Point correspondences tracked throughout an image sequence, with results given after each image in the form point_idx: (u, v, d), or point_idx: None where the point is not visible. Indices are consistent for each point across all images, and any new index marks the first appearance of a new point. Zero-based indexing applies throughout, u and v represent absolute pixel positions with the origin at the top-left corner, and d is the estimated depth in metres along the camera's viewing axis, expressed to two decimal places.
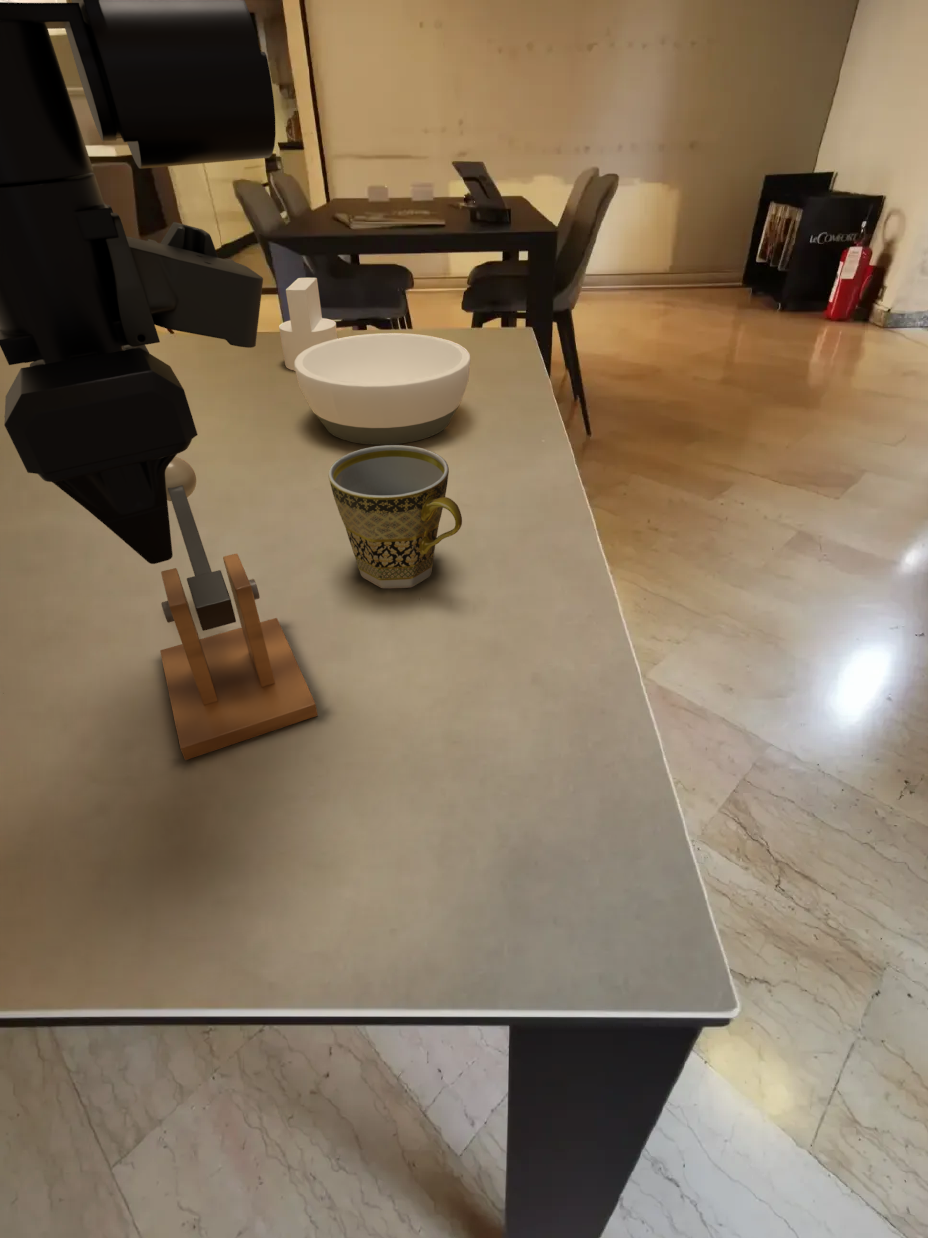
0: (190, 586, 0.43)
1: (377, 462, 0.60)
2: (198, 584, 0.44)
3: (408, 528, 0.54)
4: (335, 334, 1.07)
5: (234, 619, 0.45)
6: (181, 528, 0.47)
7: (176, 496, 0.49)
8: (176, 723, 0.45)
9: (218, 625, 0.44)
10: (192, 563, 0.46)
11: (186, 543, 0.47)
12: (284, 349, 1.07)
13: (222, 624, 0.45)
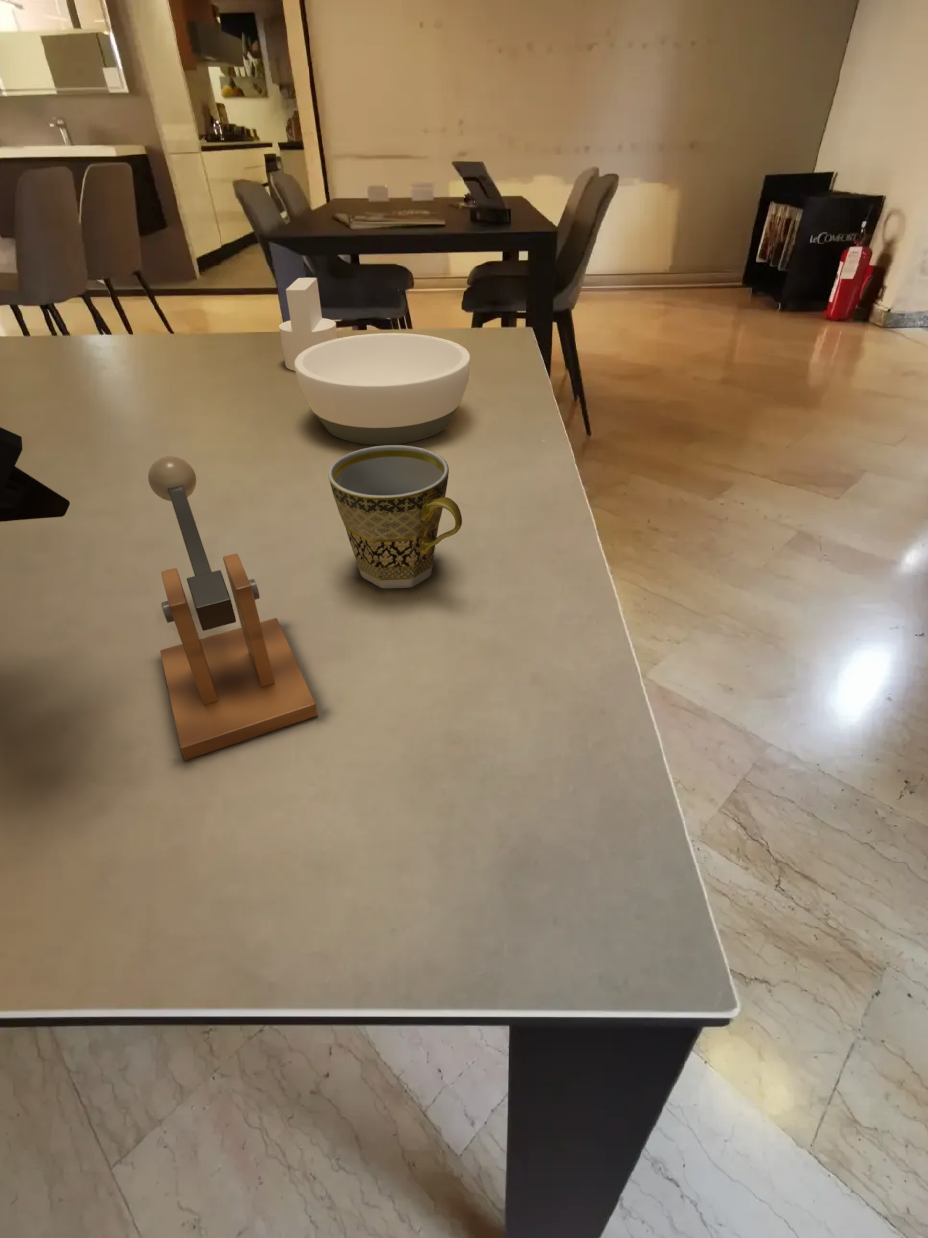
0: (190, 586, 0.43)
1: (377, 462, 0.60)
2: (198, 584, 0.44)
3: (408, 528, 0.54)
4: (335, 334, 1.07)
5: (234, 619, 0.45)
6: (181, 528, 0.47)
7: (176, 496, 0.49)
8: (176, 723, 0.45)
9: (218, 625, 0.44)
10: (192, 563, 0.46)
11: (186, 543, 0.47)
12: (284, 349, 1.07)
13: (222, 624, 0.45)
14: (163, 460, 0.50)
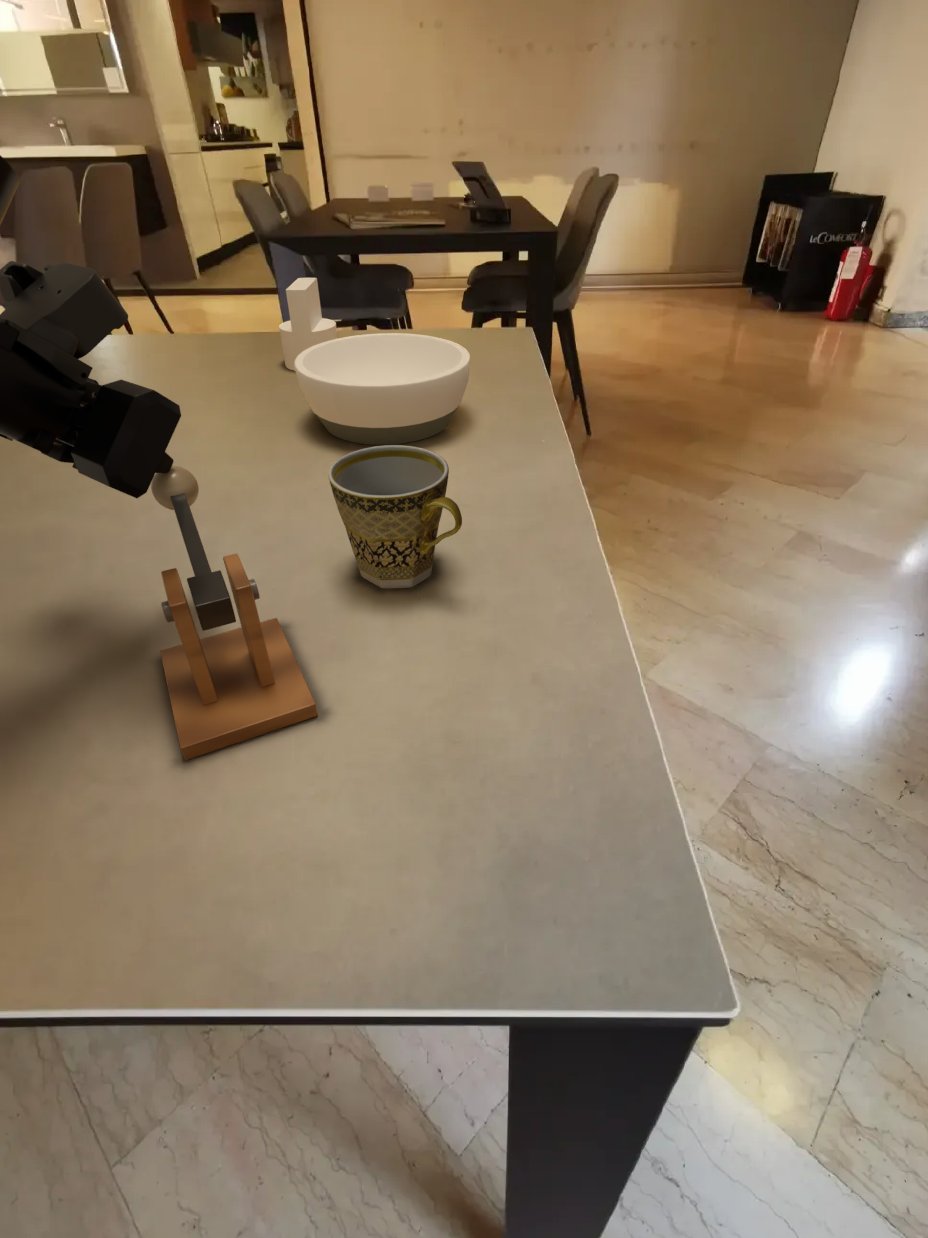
0: (190, 586, 0.44)
1: (377, 462, 0.60)
2: (198, 583, 0.44)
3: (408, 528, 0.54)
4: (335, 334, 1.07)
5: (234, 619, 0.45)
6: (182, 533, 0.48)
7: (178, 503, 0.50)
8: (176, 723, 0.45)
9: (218, 625, 0.44)
10: (193, 565, 0.46)
11: (187, 546, 0.47)
12: (284, 349, 1.07)
13: (222, 624, 0.44)
14: None
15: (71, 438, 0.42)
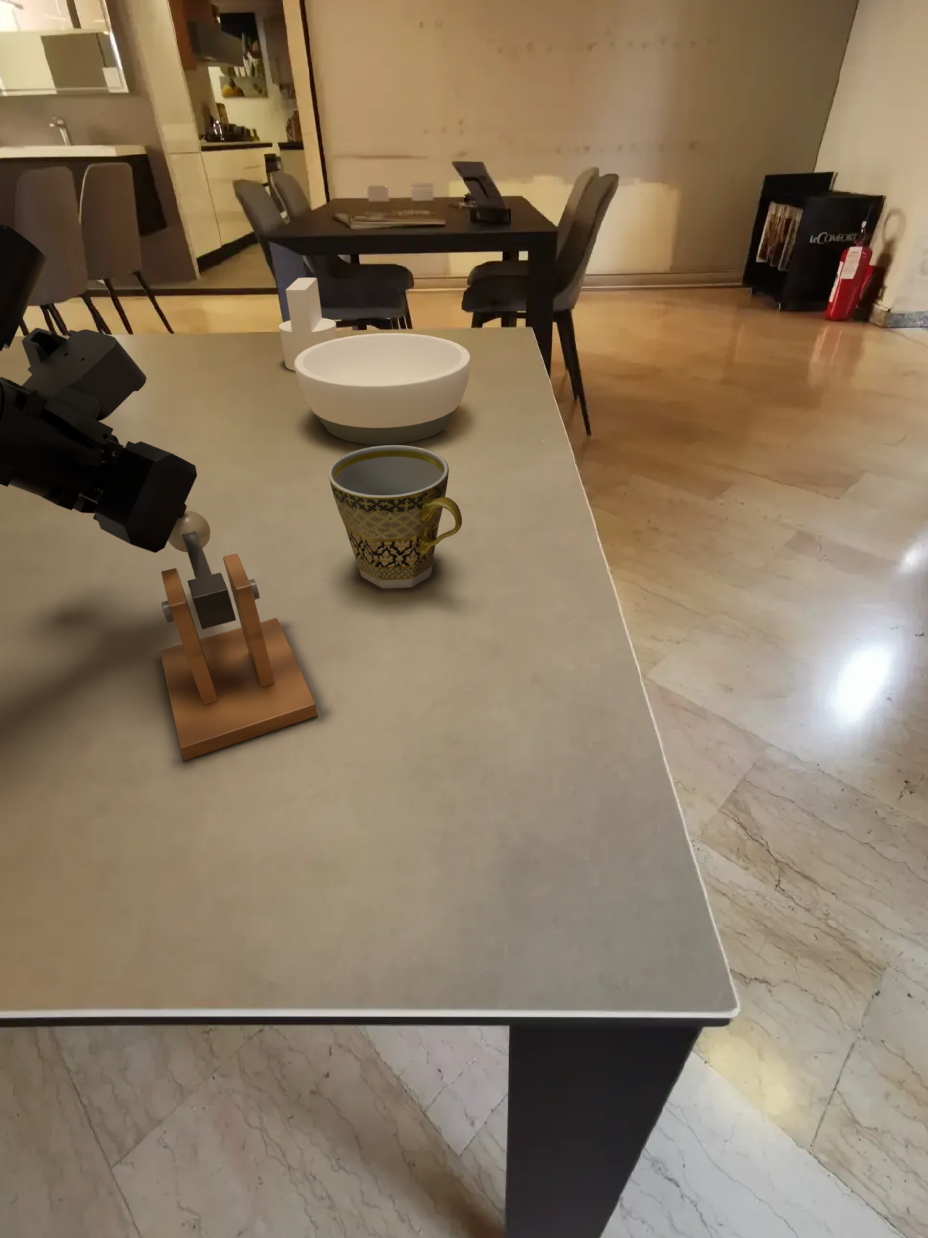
0: (190, 585, 0.44)
1: (377, 462, 0.60)
2: (197, 583, 0.44)
3: (408, 528, 0.54)
4: (335, 334, 1.07)
5: (234, 616, 0.44)
6: (189, 556, 0.49)
7: (188, 538, 0.52)
8: (176, 723, 0.45)
9: (217, 623, 0.44)
10: (196, 576, 0.47)
11: (192, 564, 0.48)
12: (284, 349, 1.07)
13: (221, 622, 0.44)
14: None
15: (93, 494, 0.44)
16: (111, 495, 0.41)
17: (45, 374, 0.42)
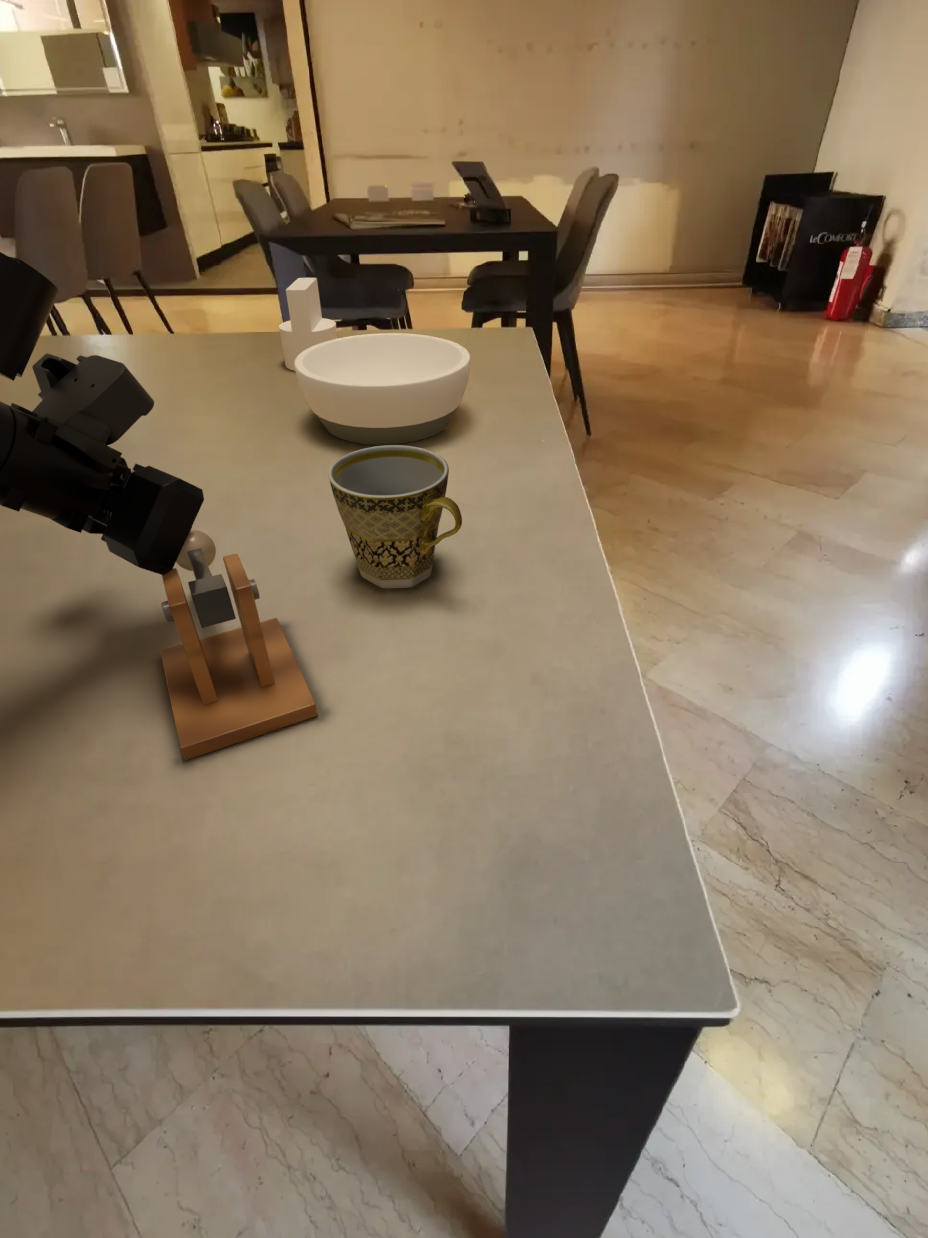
0: (190, 585, 0.44)
1: (377, 462, 0.60)
2: (197, 583, 0.44)
3: (408, 528, 0.54)
4: (335, 334, 1.07)
5: (233, 614, 0.44)
6: (193, 566, 0.50)
7: (193, 553, 0.53)
8: (176, 723, 0.45)
9: (217, 621, 0.44)
10: None
11: (195, 572, 0.48)
12: (284, 349, 1.07)
13: (221, 620, 0.44)
14: None
15: (102, 516, 0.45)
16: (120, 519, 0.42)
17: (55, 400, 0.43)
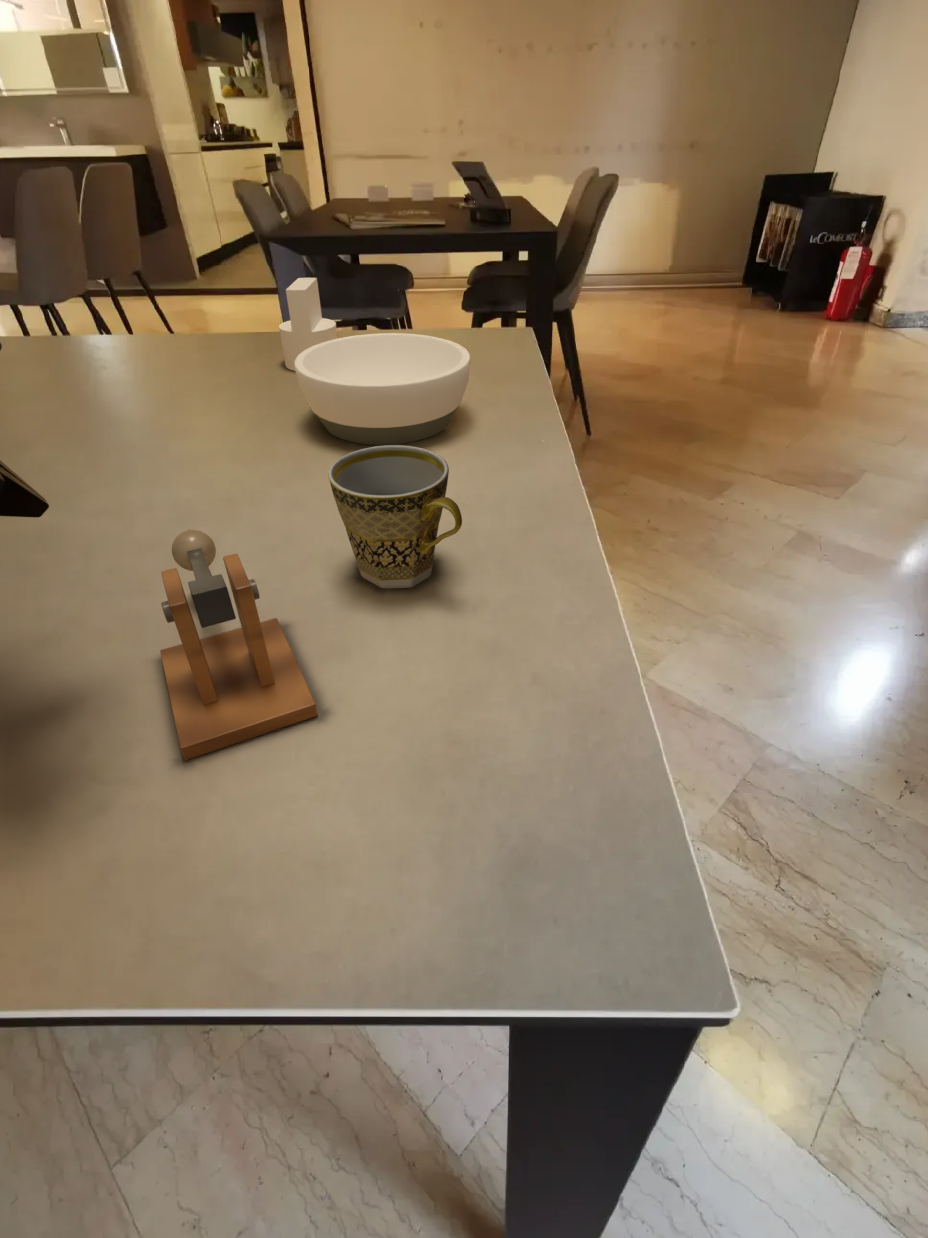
0: (190, 585, 0.44)
1: (377, 462, 0.60)
2: (197, 583, 0.44)
3: (408, 528, 0.54)
4: (335, 334, 1.07)
5: (233, 614, 0.44)
6: (193, 566, 0.50)
7: (193, 553, 0.53)
8: (176, 723, 0.45)
9: (217, 621, 0.44)
10: None
11: (195, 572, 0.48)
12: (284, 349, 1.07)
13: (221, 620, 0.44)
14: (184, 531, 0.55)
15: None
16: None
17: None
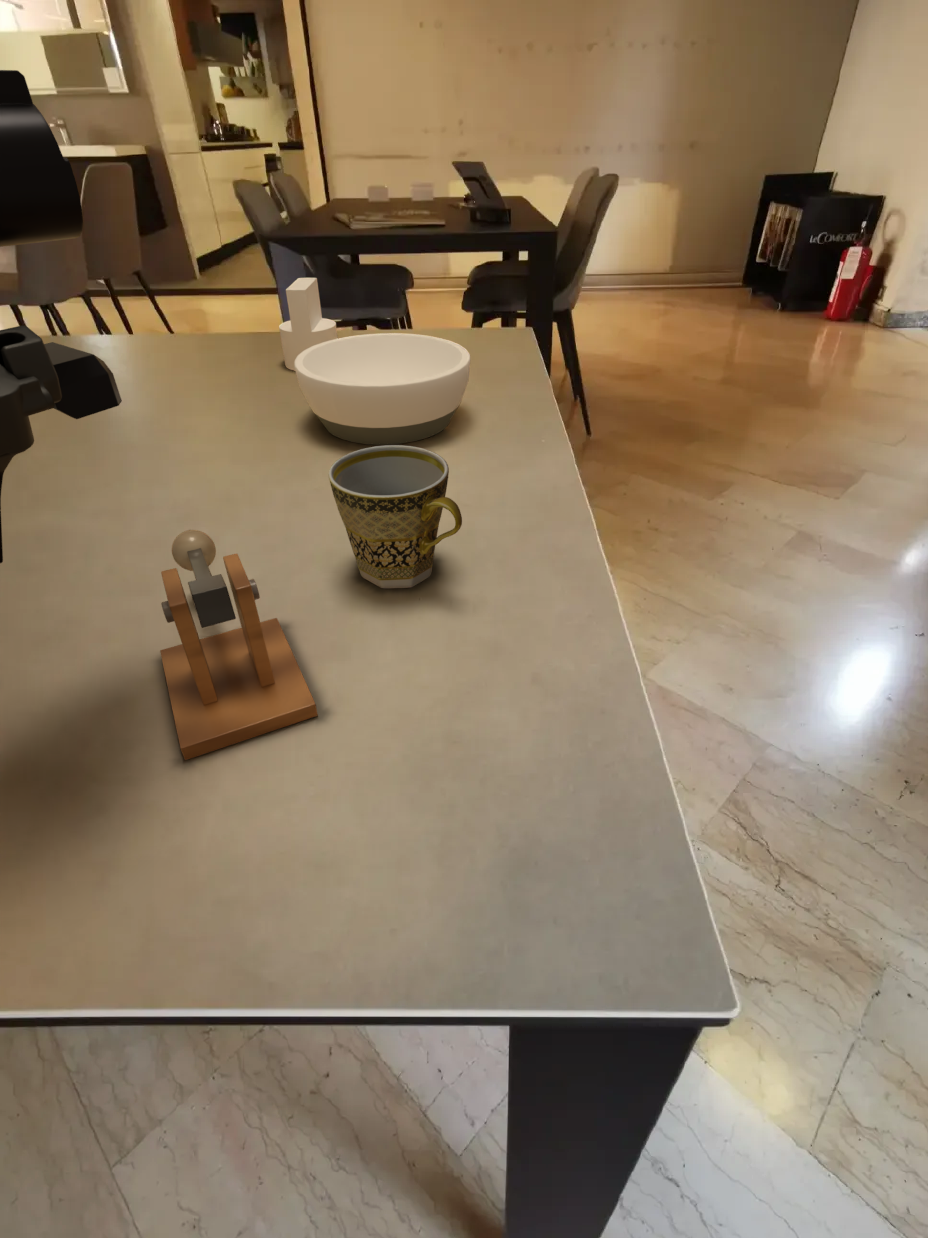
0: (190, 585, 0.44)
1: (377, 462, 0.60)
2: (197, 583, 0.44)
3: (408, 528, 0.54)
4: (335, 334, 1.07)
5: (233, 614, 0.44)
6: (193, 566, 0.50)
7: (193, 553, 0.53)
8: (176, 723, 0.45)
9: (217, 621, 0.44)
10: None
11: (195, 572, 0.48)
12: (284, 349, 1.07)
13: (221, 620, 0.44)
14: (184, 531, 0.55)
15: None
16: None
17: None
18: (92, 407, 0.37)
